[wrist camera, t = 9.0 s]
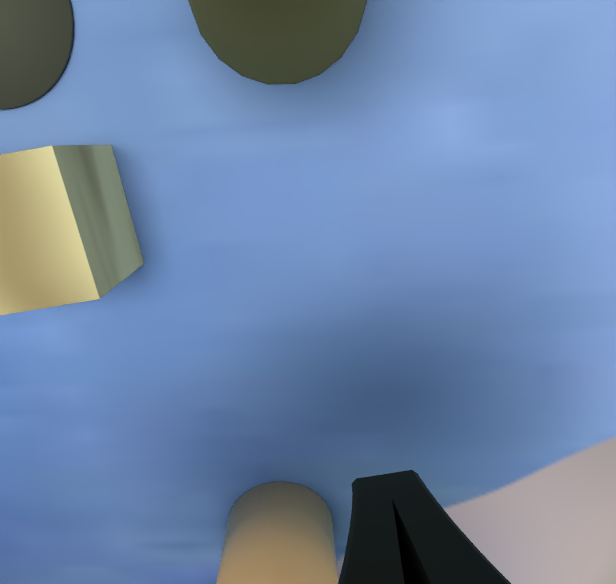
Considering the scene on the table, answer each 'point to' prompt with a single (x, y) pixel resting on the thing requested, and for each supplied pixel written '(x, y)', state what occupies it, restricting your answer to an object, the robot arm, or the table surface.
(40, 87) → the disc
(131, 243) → the block
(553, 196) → the table surface
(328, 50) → the cork
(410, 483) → the robot arm
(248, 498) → the tan rounded-top cylinder
